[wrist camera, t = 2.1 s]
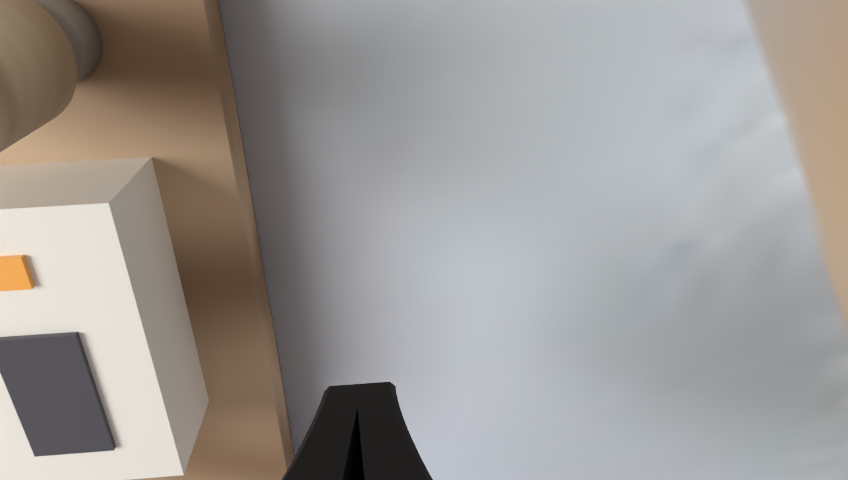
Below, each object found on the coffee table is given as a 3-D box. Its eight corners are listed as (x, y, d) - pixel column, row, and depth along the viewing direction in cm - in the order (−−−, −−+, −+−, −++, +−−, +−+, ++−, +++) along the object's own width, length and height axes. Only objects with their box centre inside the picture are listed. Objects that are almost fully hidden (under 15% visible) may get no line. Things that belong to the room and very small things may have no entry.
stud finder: (209, 401, 20) (182, 479, 17) (44, 413, 20) (-10, 494, 17) (151, 156, 17) (105, 205, 14) (-51, 168, 16) (-139, 220, 13)
